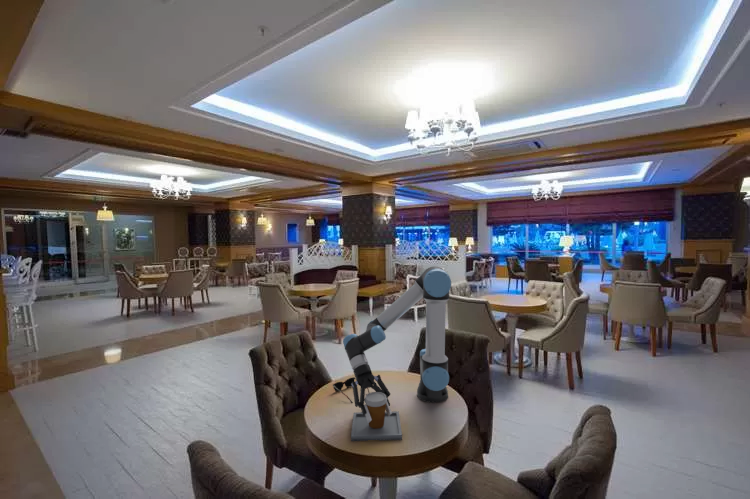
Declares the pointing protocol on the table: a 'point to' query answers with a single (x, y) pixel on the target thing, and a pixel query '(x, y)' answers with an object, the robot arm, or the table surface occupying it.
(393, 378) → the table surface
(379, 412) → the disposable coffee cup
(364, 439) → the serving tray
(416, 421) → the table surface
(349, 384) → the sunglasses
